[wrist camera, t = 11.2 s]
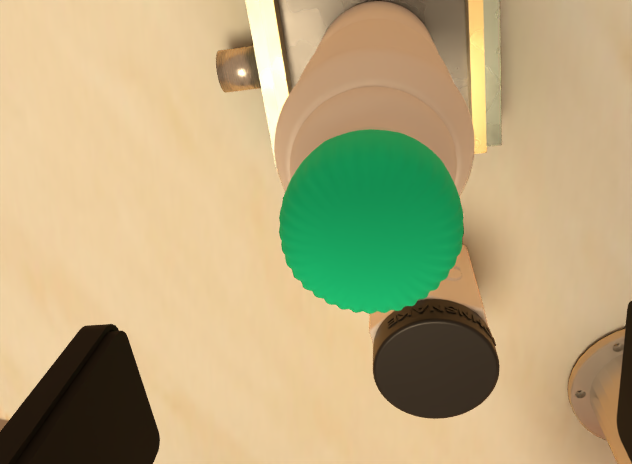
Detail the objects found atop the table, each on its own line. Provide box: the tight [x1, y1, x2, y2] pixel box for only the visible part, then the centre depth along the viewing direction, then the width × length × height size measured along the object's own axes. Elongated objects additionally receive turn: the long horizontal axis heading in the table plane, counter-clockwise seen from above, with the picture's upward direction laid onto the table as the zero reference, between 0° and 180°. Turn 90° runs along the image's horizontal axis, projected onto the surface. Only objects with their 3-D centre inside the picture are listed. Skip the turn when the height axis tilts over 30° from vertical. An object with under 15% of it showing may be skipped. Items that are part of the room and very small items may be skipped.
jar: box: [369, 245, 499, 419], centre depth 44 cm, size 9×8×12 cm
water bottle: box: [274, 1, 475, 314], centre depth 26 cm, size 7×7×25 cm
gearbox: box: [216, 0, 502, 169], centre depth 39 cm, size 18×14×7 cm
